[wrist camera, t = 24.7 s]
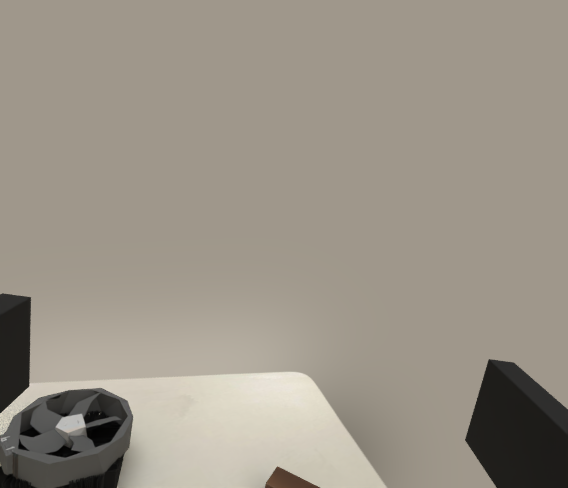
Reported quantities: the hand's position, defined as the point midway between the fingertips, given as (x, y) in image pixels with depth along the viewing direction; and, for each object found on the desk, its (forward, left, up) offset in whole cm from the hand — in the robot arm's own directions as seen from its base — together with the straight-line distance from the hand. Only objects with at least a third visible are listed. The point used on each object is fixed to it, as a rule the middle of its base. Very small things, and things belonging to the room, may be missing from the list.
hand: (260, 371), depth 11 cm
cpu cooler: (+26, -1, -26) cm, 37 cm away
